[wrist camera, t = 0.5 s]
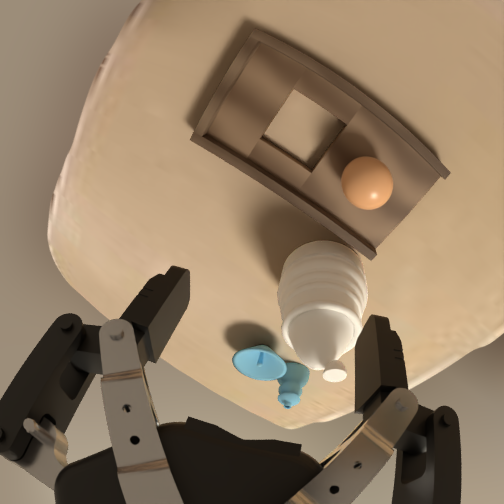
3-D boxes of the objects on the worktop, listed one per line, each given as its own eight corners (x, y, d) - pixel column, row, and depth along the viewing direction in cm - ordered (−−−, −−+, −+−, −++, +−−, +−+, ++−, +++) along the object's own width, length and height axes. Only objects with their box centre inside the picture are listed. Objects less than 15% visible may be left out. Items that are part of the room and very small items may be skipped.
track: (260, 32, 26) (254, 27, 24) (441, 166, 29) (450, 172, 27) (198, 135, 35) (189, 139, 33) (368, 249, 38) (371, 260, 36)
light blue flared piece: (227, 342, 56) (214, 377, 49) (264, 323, 51) (253, 362, 43) (285, 384, 60) (278, 418, 53) (322, 371, 55) (319, 407, 48)
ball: (359, 141, 30) (366, 151, 25) (396, 172, 30) (409, 188, 26) (329, 179, 33) (331, 196, 28) (366, 207, 34) (374, 228, 29)
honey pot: (361, 234, 38) (379, 331, 23) (366, 304, 44) (373, 400, 29) (273, 246, 42) (243, 340, 27) (290, 311, 48) (271, 403, 33)
